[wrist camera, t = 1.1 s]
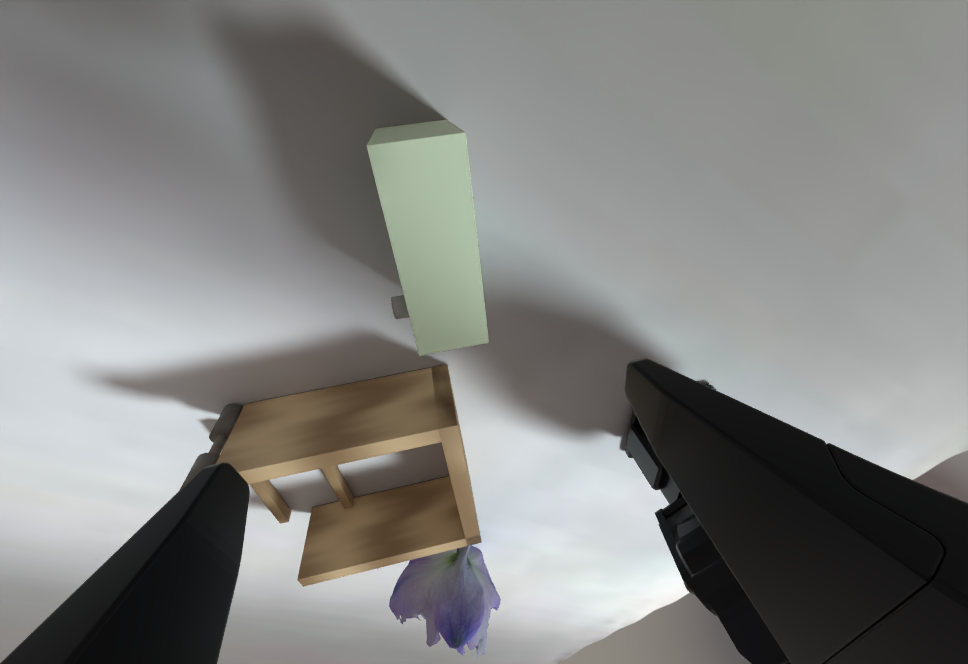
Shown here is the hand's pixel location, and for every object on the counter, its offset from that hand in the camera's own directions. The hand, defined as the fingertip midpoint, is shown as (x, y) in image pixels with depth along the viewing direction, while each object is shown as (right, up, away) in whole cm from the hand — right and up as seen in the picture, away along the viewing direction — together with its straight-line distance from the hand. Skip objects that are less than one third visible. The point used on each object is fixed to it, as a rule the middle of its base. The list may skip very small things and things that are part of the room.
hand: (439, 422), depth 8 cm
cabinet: (-8, -6, +17) cm, 20 cm away
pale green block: (-2, +8, +10) cm, 12 cm away
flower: (-3, -16, +25) cm, 30 cm away
